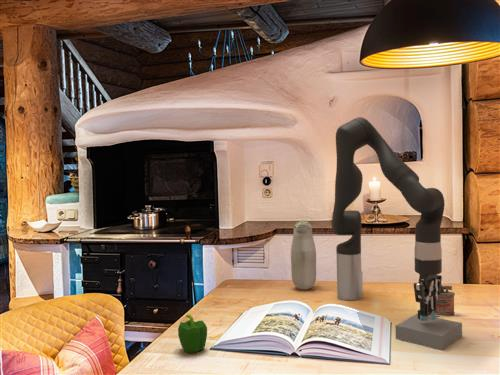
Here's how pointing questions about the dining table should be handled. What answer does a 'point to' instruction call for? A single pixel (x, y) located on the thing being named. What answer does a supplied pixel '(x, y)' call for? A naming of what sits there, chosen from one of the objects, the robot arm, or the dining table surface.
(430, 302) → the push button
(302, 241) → the grey bottle
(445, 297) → the lighter
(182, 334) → the bell pepper
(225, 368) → the dining table surface
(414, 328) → the slate stand
